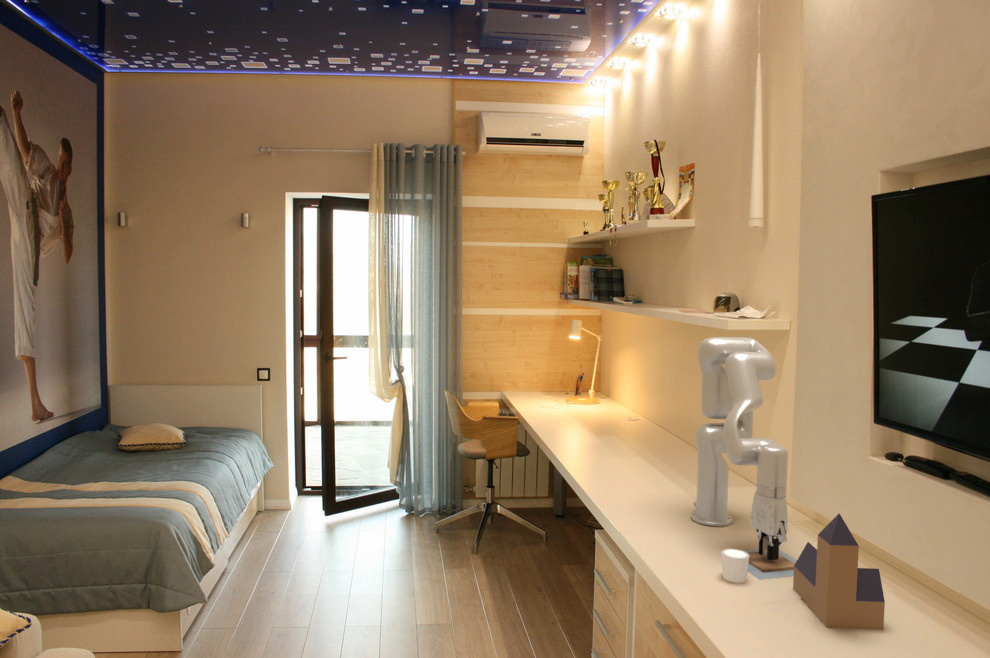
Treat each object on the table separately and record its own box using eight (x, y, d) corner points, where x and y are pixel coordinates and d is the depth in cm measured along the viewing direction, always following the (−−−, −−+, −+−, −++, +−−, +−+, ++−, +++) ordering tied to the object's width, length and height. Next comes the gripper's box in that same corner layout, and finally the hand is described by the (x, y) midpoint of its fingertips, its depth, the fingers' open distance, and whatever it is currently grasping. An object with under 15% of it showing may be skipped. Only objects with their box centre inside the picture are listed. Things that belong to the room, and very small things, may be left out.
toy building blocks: (825, 627, 152) (831, 517, 151) (792, 590, 171) (797, 491, 169) (883, 629, 152) (889, 519, 150) (843, 591, 171) (848, 493, 169)
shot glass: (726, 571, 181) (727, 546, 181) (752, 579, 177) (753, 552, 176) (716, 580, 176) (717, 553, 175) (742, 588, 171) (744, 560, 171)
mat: (720, 554, 193) (720, 552, 193) (775, 549, 198) (775, 547, 198) (759, 580, 176) (759, 579, 176) (819, 574, 180) (819, 573, 180)
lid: (738, 556, 191) (739, 532, 190) (772, 553, 193) (774, 529, 193) (762, 572, 180) (764, 547, 180) (799, 569, 183) (800, 544, 182)
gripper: (741, 482, 192) (738, 546, 194) (778, 500, 177) (775, 570, 178) (764, 481, 194) (761, 544, 195) (803, 499, 178) (800, 567, 180)
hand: (768, 556), depth 187 cm, fingers closed on lid, 3 cm apart
